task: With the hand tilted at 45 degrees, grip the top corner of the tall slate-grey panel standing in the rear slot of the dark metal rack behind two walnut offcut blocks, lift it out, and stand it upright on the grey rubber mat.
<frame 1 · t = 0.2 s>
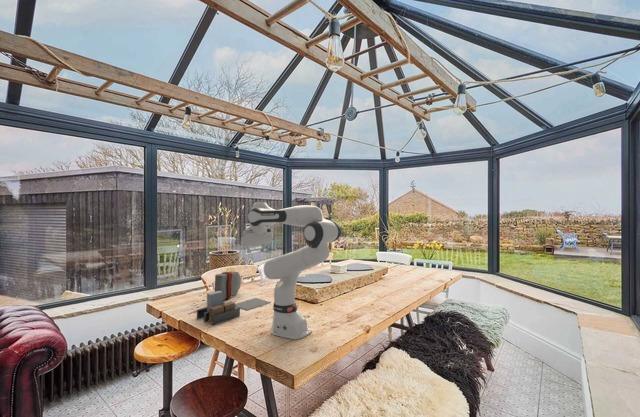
hand: (255, 252, 173), 39 cm above the table, tool pointing down, fingers open, 8 cm apart
offcut b: (216, 320, 170), on the table
rack: (218, 317, 175), on the table
mat: (251, 304, 200), on the table
decorative stone tablet: (228, 297, 214), on the table
offcut a: (228, 316, 176), on the table
panel: (214, 315, 177), on the table
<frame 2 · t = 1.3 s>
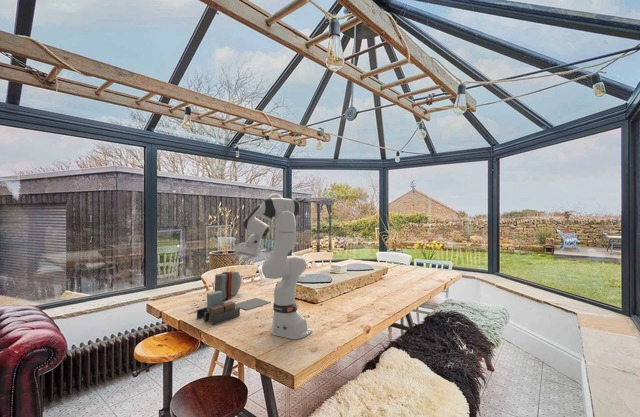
hand: (240, 259, 192), 32 cm above the table, tool tilted 45°, fingers open, 8 cm apart
nothing on the table moved.
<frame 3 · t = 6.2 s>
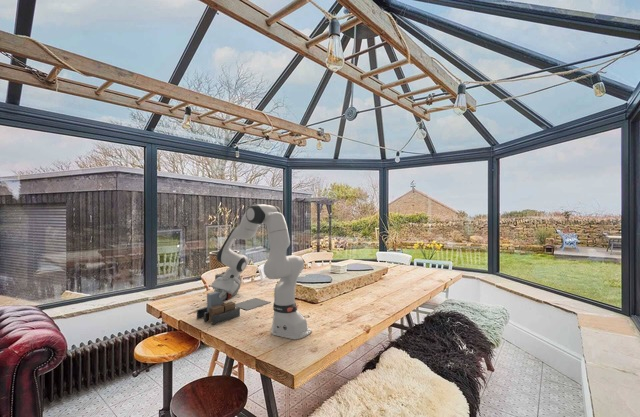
hand: (216, 296, 178), 11 cm above the table, tool tilted 45°, fingers closed on panel, 4 cm apart
panel: (214, 315, 177), on the table, touching gripper
everything else where it was.
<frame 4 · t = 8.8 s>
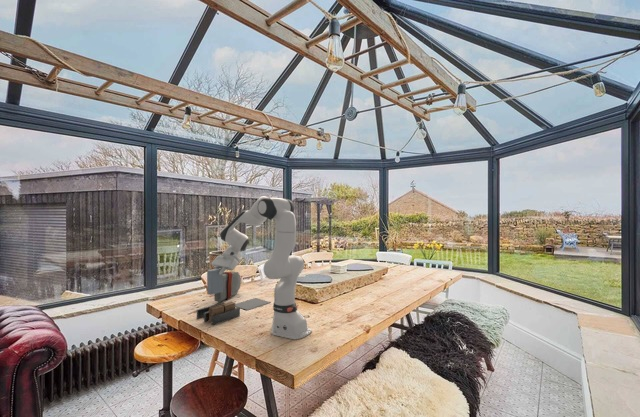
hand: (216, 273, 178), 25 cm above the table, tool tilted 45°, fingers closed on panel, 4 cm apart
panel: (215, 292, 177), point 14 cm above the table, touching gripper
everything else where it was.
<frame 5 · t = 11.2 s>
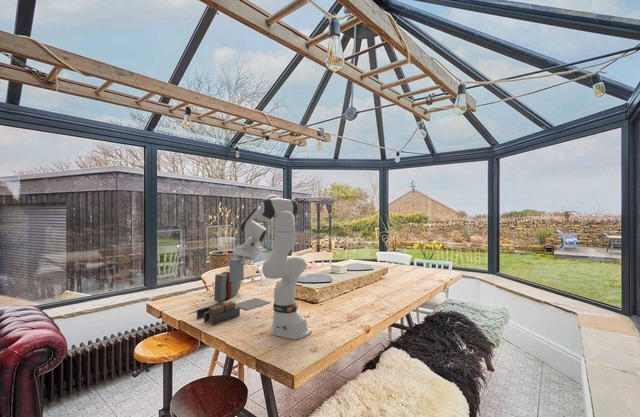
hand: (237, 262, 191), 30 cm above the table, tool tilted 45°, fingers closed on panel, 4 cm apart
panel: (236, 280, 190), point 18 cm above the table, touching gripper
everything else where it was.
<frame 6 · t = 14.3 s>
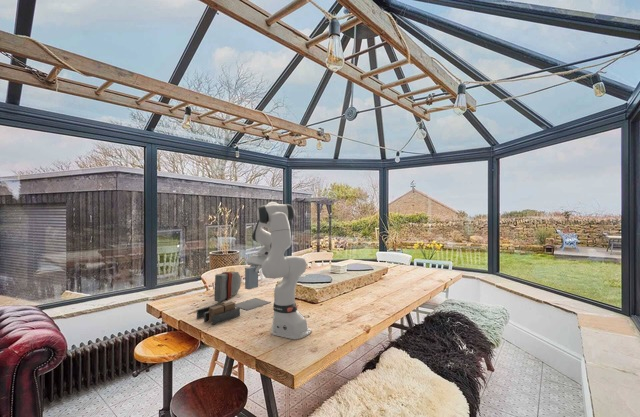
hand: (252, 270, 200), 22 cm above the table, tool tilted 45°, fingers closed on panel, 4 cm apart
panel: (251, 287, 200), point 11 cm above the table, touching gripper
everything else where it was.
when the fingers open (13 cm above the table, at t = 16.7 s): panel drops 1 cm, resting on mat.
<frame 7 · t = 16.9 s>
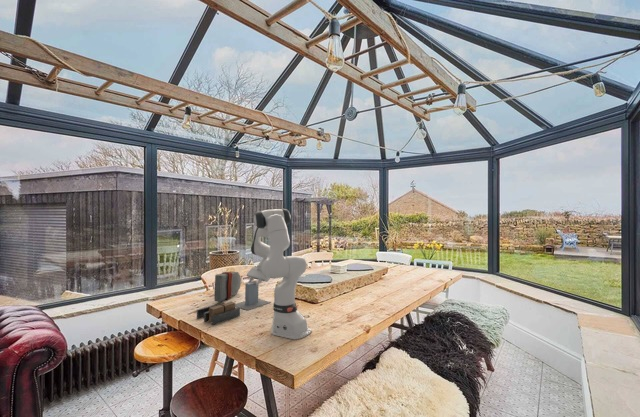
hand: (252, 284, 200), 13 cm above the table, tool tilted 45°, fingers open, 6 cm apart
panel: (251, 303, 200), resting on mat
everything else where it was.
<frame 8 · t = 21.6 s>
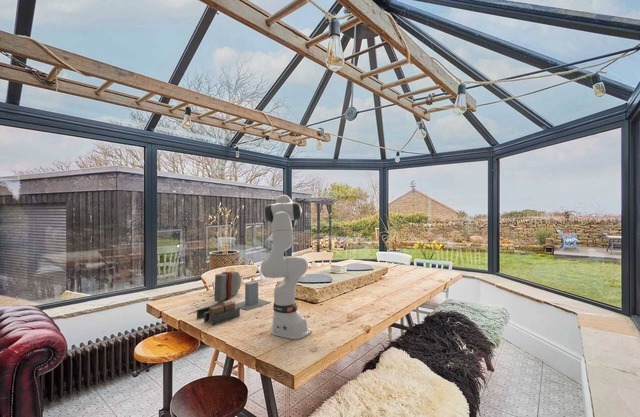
hand: (273, 248, 206), 37 cm above the table, tool tilted 45°, fingers open, 8 cm apart
nothing on the table moved.
at the end: panel inside the target area (0.1 cm from its centre), resting on mat; panel tilted 0°; the gripper is holding nothing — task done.
